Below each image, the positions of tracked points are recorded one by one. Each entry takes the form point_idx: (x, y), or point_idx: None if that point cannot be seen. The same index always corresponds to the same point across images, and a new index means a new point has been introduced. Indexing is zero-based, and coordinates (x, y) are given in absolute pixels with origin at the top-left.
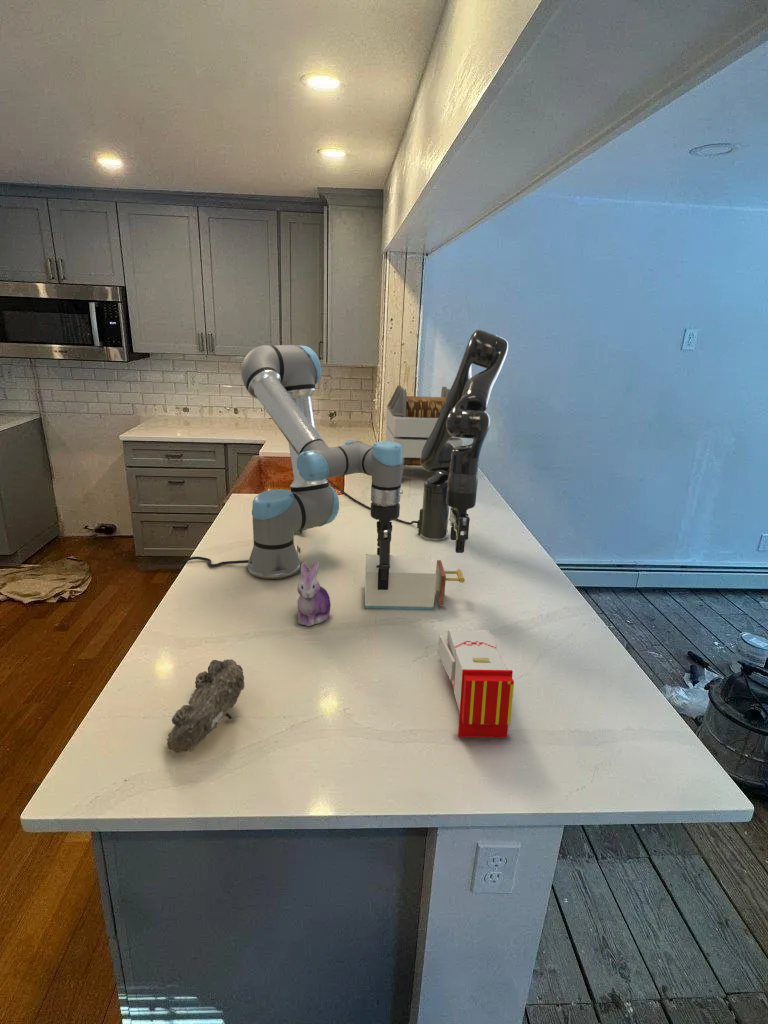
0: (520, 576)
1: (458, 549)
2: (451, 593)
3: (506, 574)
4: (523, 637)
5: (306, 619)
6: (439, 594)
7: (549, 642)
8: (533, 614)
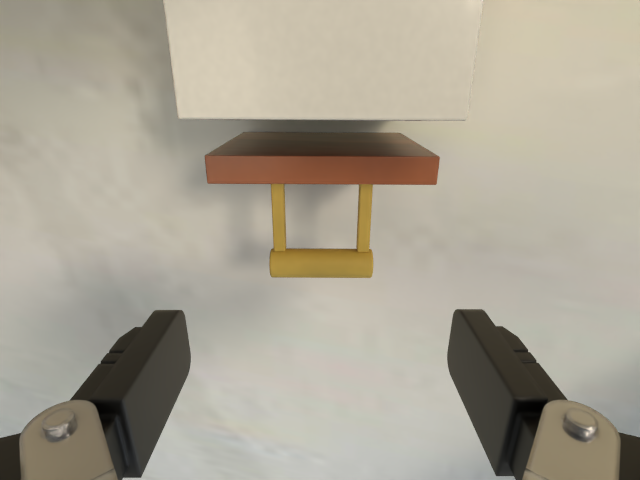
0: None
1: (116, 346)
2: (375, 202)
3: None
4: None
5: None
6: (244, 137)
7: None
8: (239, 422)
